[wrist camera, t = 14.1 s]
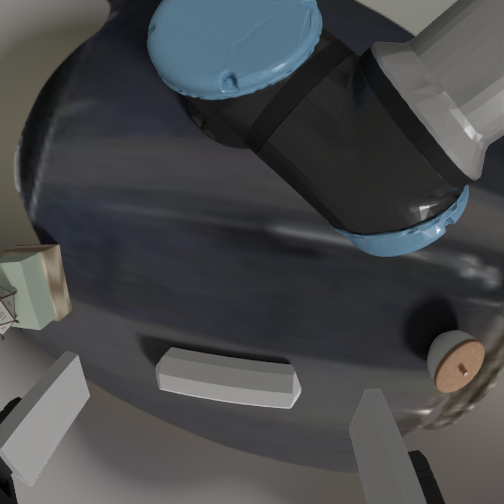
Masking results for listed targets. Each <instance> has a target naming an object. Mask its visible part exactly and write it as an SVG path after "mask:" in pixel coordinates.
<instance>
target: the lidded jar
mask: <svg viewBox="0 0 504 504" xmlns="http://www.w3.org/2000/svg"><path fill="white" fill-rule="evenodd" d="M484 352H485V351H484V347H483V345H482V344H481V343H480V342H479V341H478V340H476V339H475V338H474V337H473V336H471V335H470V334H468V333H466V332H464V331H460V330H452V331H449V332H445V333H442V334H440V335H439V336H438V337H437V338H436V339H435V340H434V341H433V342H432V344H431V346H430V349H429V353H428V357H427V367H428V371H429V374H430V376H431V378H432V380H433V382H434V383H435V386H436V387H437V389H438V390H439V391H441V392H443V393H450V392H454V391H456V390H458V389H460V388H462V387H463V386H465V385H466V384H467V383H468V382H469V381H471V379H472V378H473V377H474V376H475V375H476V374H477V372H478V370H479V369H480V367H481V365H482V363H483V359H484Z"/></svg>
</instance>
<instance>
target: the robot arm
mask: <svg viewBox="0 0 504 504" xmlns="http://www.w3.org/2000/svg"><path fill="white" fill-rule="evenodd" d="M148 29H149V31H148V40H147V48H148V53H149V56H150V59H151V61H152V63H153V65H154V66H155V68H156V69H157V71H158V74H159V76H160V77H162V80H163V82H164V83H166V84H167V85H168V86H169V87H170V88H171V89H173V90H175V91H176V92H178V93H180V94H182V95H183V96H185V97H186V98H187V105H188V109H189V112H190V115H191V117H192V119H193V121H194V122H195V124H196V125H197V126H198V128H199V129H200V130H201V131H202V132H203V133H204V134H206V135H207V136H208V137H210V138H211V139H213V140H215V141H216V142H218V143H220V144H223V145H225V146H228V147H232V148H239V149H251V150H252V151H253V152H254V153H255V154H256V155H257V156H258V157H259V158H260V159H261V160H263V161H264V162H265V163H266V164H267V165H268V166H269V167H270V168H271V169H273V170H274V171H275V172H276V173H277V174H278V175H279V176H280V177H281V178H283V179H284V180H285V181H286V182H287V183H288V184H289V185H290V186H291V187H292V188H293V189H294V190H296V191H297V192H298V193H299V194H300V195H301V196H302V197H303V198H304V199H305V200H306V201H307V202H308V203H309V204H310V205H311V206H312V207H313V208H315V209H316V210H317V211H318V212H319V213H320V214H321V215H322V216H323V217H324V218H325V220H326V221H327V223H328V224H329V225H330V226H331V227H332V228H334V229H335V231H337V232H339V233H341V234H343V235H344V236H345V237H346V238H348V239H349V240H350V241H351V242H352V243H353V244H354V245H355V246H356V247H358V248H359V249H360V250H362V251H364V252H366V253H368V254H372V255H376V256H385V257H386V256H397V255H403V254H407V253H410V252H413V251H416V250H418V249H421V248H423V247H425V246H427V245H429V244H430V243H432V242H433V241H435V240H436V239H438V238H439V237H441V236H442V235H443V234H444V233H445V231H446V229H445V226H446V225H448V224H453V223H455V222H456V221H457V220H458V219H459V217H460V216H461V214H462V213H463V211H464V209H465V206H466V203H467V200H468V195H469V189H468V184H469V183H471V182H473V181H475V180H477V179H478V178H479V177H480V176H481V172H482V167H483V162H484V156H485V151H486V149H487V147H488V145H489V144H491V143H492V142H494V141H495V140H497V139H498V138H500V137H501V136H503V135H504V0H458V1H457V2H455V3H454V4H453V5H452V6H450V7H449V8H448V9H447V10H446V11H445V12H443V13H442V14H441V15H440V16H439V17H437V18H436V19H435V20H434V21H433V22H432V23H431V24H430V25H428V26H427V27H426V28H425V29H424V30H423V31H421V32H420V33H419V34H418V35H417V36H416V37H415V38H413V39H412V40H411V41H409V42H407V43H404V44H401V43H388V42H375V43H374V44H372V46H371V47H370V48H369V49H367V50H366V51H365V52H364V53H363V54H362V55H361V56H358V55H357V54H355V53H354V51H352V50H351V49H350V48H349V47H348V46H346V45H345V44H344V43H343V42H342V41H340V40H339V39H338V38H337V37H335V36H334V35H333V34H332V33H330V32H329V31H328V30H327V29H325V28H324V27H323V26H322V16H321V13H320V11H319V9H318V7H317V2H316V0H163V1H162V2H161V3H160V5H159V6H158V7H157V9H156V11H155V13H154V14H153V16H152V19H151V21H150V24H149V28H148ZM89 397H90V394H89V391H88V388H87V385H86V381H85V378H84V374H83V371H82V367H81V364H80V360H79V356H78V354H74V353H71V352H68V351H65V352H64V353H63V355H62V356H61V357H60V358H59V359H58V360H57V361H56V362H55V363H54V364H53V365H52V366H51V367H50V368H49V370H48V371H47V372H46V373H45V374H44V375H43V376H42V377H41V378H40V380H39V381H38V382H37V383H36V384H35V385H34V386H33V387H32V388H31V390H30V391H29V392H28V393H27V394H26V395H25V396H24V397H23V398H20V397H17V398H15V399H14V400H12V401H10V402H9V403H8V404H7V405H6V406H5V407H4V410H2V411H1V412H0V504H18V503H17V498H16V494H15V489H14V484H13V480H12V477H11V474H12V473H14V474H15V475H16V477H17V478H18V479H19V480H21V481H22V482H24V483H26V484H27V485H29V486H31V487H32V486H33V485H34V483H35V481H36V479H37V478H38V476H39V475H40V473H41V471H42V470H43V468H44V466H45V465H46V463H47V461H48V460H49V458H50V457H51V455H52V453H53V452H54V450H55V449H56V447H57V446H58V444H59V442H60V441H61V439H62V438H63V436H64V435H65V433H66V432H67V430H68V428H69V427H70V425H71V424H72V422H73V421H74V419H75V418H76V416H77V415H78V413H79V412H80V410H81V409H82V407H83V406H84V404H85V403H86V401H87V400H88V398H89ZM348 429H349V433H350V437H351V440H352V444H353V448H354V452H355V456H356V460H357V464H358V468H359V473H360V477H361V481H362V485H363V489H364V494H365V498H366V503H367V504H445V502H444V500H443V497H442V495H441V492H440V490H439V487H438V485H437V482H436V480H435V478H434V477H433V476H434V475H433V473H432V470H430V466H429V463H428V461H427V459H426V457H425V456H424V455H423V454H422V453H421V452H420V451H419V450H417V451H411V452H407V450H406V447H405V445H404V442H403V440H402V437H401V435H400V433H399V430H398V428H397V425H396V423H395V421H394V418H393V416H392V414H391V411H390V409H389V407H388V405H387V402H386V400H385V398H384V395H383V393H382V391H381V389H380V388H378V389H365V390H364V393H363V396H362V398H361V401H360V403H359V405H358V408H357V410H356V413H355V415H354V417H353V419H352V422H351V424H350V426H349V428H348Z"/></svg>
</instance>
